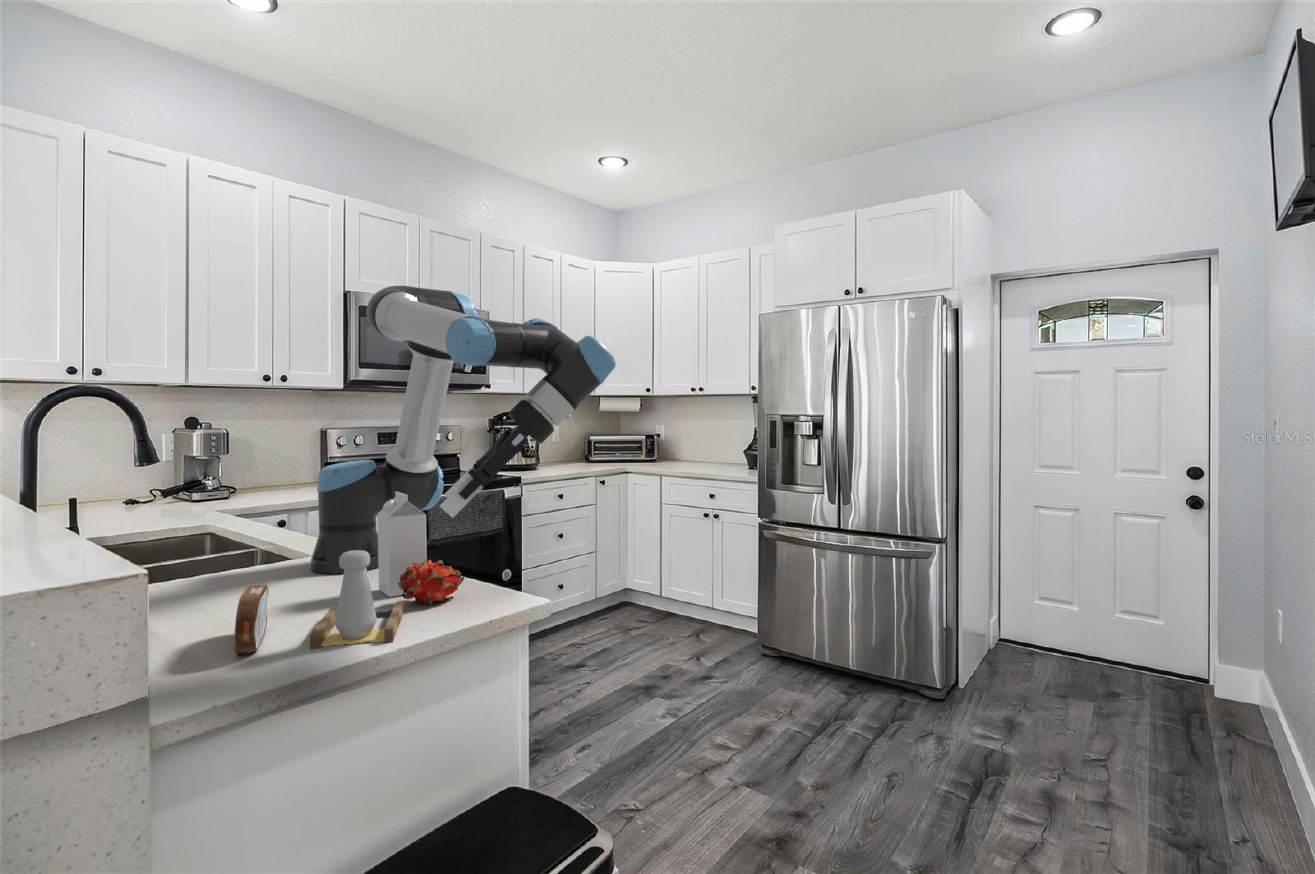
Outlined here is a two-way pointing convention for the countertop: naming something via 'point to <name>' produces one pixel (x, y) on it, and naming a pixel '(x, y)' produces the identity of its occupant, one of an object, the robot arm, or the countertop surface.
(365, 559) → the salt shaker
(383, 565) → the milk carton
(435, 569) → the dragon fruit
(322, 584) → the countertop surface
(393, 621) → the channel
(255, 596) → the tin
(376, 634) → the yellow panel
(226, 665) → the countertop surface
